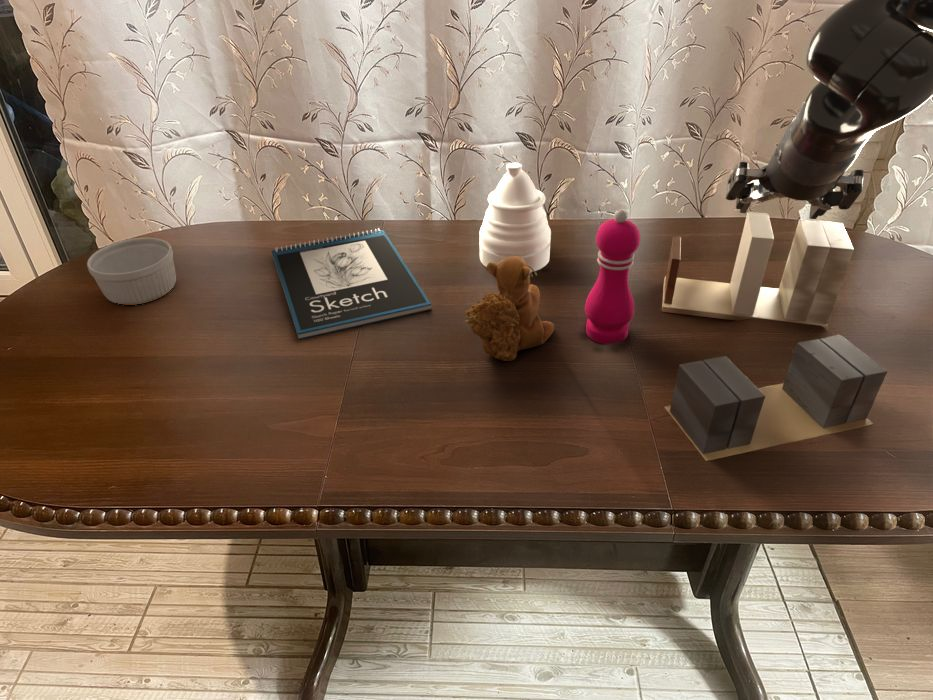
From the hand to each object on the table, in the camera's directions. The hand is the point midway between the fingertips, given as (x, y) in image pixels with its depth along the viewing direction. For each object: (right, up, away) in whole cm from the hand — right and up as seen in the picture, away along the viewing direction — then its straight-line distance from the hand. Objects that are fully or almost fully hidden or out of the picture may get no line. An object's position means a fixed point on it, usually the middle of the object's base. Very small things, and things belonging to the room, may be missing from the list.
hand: (777, 209), depth 86 cm
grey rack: (-3, -28, -3) cm, 28 cm away
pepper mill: (-20, -16, +14) cm, 29 cm away
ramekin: (-97, -8, +27) cm, 101 cm away
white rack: (+3, -11, +19) cm, 22 cm away
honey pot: (-32, -2, +34) cm, 47 cm away
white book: (+3, -10, +18) cm, 21 cm away
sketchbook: (-62, -7, +29) cm, 69 cm away
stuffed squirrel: (-35, -18, +12) cm, 41 cm away
